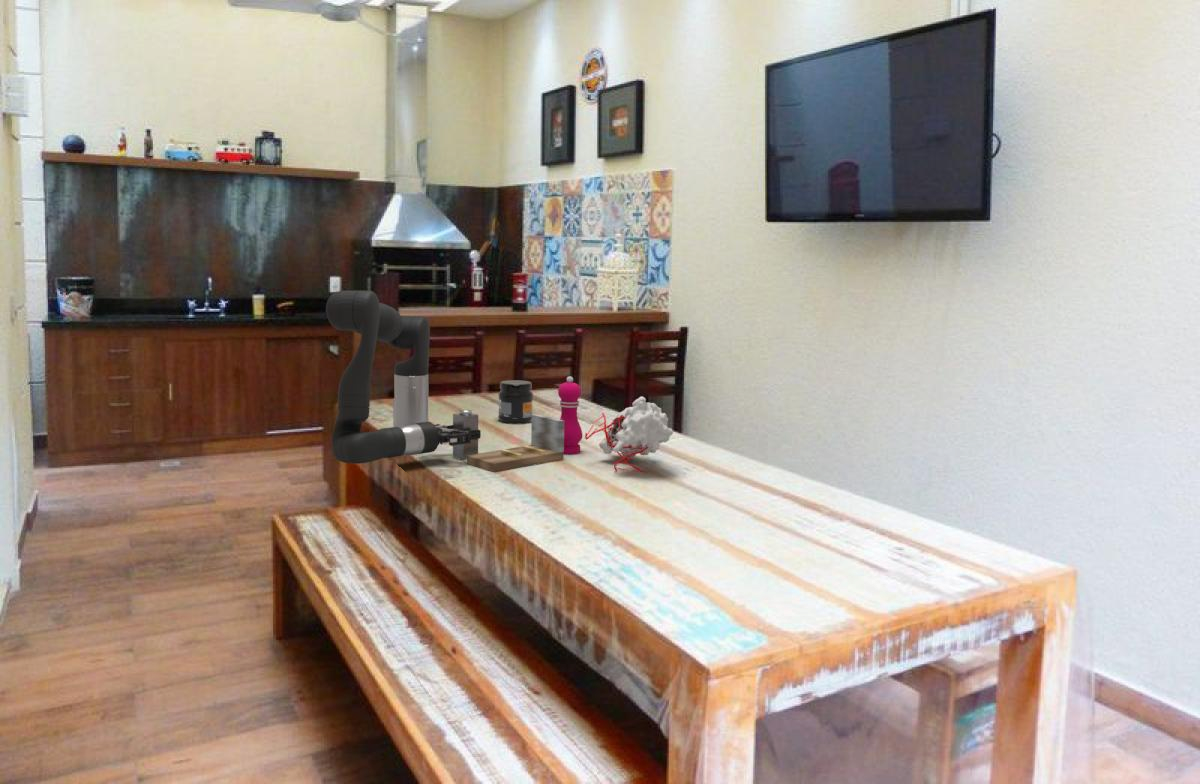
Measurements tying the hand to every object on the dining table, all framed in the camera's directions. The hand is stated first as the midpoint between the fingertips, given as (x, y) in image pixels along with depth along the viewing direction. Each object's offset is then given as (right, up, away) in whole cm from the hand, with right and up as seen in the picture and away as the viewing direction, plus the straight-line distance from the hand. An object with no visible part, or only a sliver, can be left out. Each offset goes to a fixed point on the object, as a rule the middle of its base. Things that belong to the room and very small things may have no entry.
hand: (469, 431), depth 236 cm
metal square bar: (-1, -7, 0) cm, 7 cm away
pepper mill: (+25, -6, +9) cm, 27 cm away
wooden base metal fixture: (+12, -7, -3) cm, 14 cm away
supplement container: (+7, +1, +50) cm, 51 cm away
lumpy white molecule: (+41, -9, -5) cm, 42 cm away
